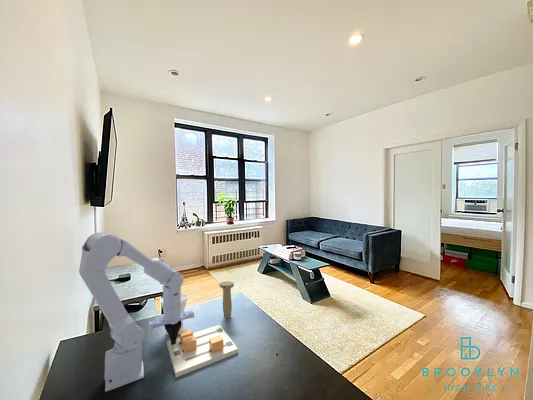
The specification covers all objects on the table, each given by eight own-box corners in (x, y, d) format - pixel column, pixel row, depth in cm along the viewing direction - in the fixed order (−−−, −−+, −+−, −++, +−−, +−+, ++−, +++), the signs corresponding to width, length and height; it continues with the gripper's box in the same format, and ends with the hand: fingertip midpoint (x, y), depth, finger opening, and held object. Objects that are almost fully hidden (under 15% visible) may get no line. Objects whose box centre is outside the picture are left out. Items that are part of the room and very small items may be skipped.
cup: (160, 328, 94) (159, 295, 94) (186, 321, 99) (186, 290, 99) (161, 342, 85) (160, 306, 85) (190, 334, 89) (189, 299, 89)
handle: (232, 320, 99) (231, 285, 99) (218, 318, 101) (217, 284, 101) (236, 314, 104) (235, 281, 104) (223, 313, 105) (222, 281, 105)
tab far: (181, 344, 80) (181, 336, 80) (179, 340, 83) (179, 331, 83) (193, 340, 82) (192, 332, 82) (191, 336, 85) (190, 328, 85)
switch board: (175, 377, 67) (175, 372, 67) (167, 345, 83) (167, 341, 83) (237, 352, 78) (237, 348, 78) (220, 328, 93) (219, 324, 93)
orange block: (212, 352, 76) (211, 343, 76) (209, 347, 78) (209, 338, 78) (223, 348, 78) (223, 339, 78) (220, 343, 80) (220, 334, 80)
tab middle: (184, 352, 76) (184, 343, 76) (182, 347, 79) (182, 338, 79) (196, 348, 78) (196, 339, 78) (194, 343, 81) (194, 335, 81)
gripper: (149, 315, 73) (151, 357, 73) (195, 303, 81) (196, 341, 81) (148, 306, 79) (149, 345, 79) (191, 296, 87) (192, 332, 87)
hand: (173, 343), depth 80 cm, fingers closed
